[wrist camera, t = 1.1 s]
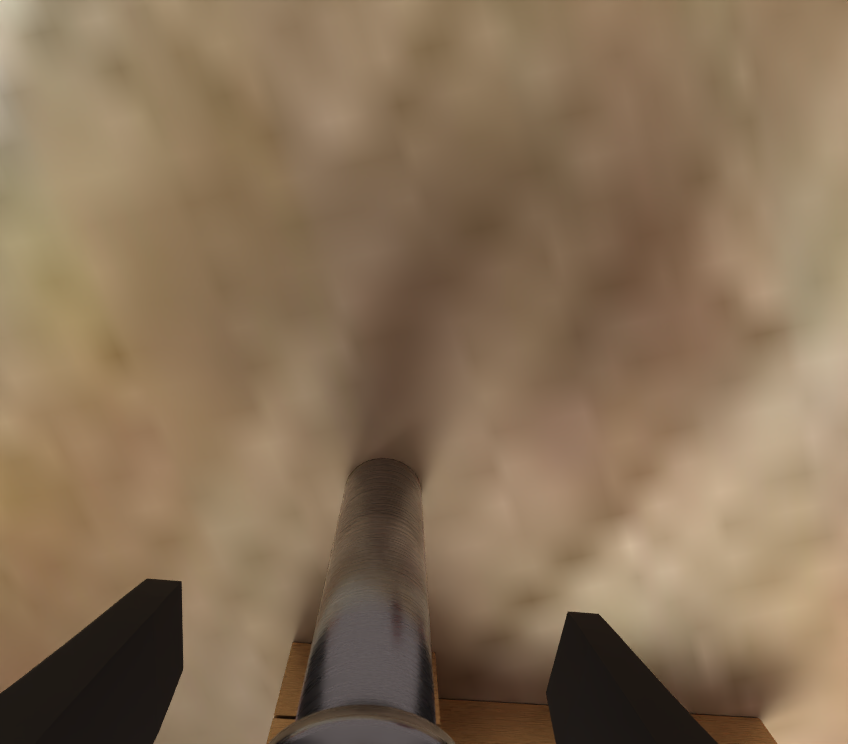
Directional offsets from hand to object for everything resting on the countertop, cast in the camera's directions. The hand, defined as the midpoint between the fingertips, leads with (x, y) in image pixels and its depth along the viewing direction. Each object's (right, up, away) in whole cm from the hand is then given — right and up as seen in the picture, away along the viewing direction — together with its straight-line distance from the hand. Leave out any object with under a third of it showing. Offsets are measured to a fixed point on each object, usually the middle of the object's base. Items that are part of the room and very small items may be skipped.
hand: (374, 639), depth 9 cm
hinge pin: (0, +2, +5) cm, 5 cm away
